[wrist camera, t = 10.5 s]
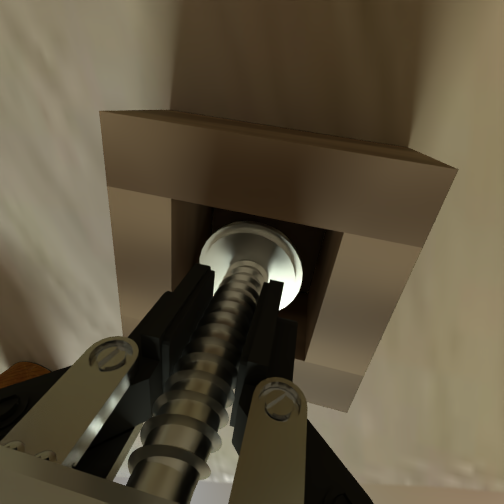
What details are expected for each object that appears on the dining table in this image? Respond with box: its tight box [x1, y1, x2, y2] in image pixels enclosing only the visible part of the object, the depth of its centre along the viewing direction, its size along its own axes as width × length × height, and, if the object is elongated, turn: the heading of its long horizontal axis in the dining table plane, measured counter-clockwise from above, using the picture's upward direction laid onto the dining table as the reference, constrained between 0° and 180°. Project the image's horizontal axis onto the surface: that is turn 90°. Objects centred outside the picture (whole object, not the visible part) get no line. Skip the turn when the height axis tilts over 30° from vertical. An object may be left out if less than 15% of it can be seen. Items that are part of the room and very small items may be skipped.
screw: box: [126, 221, 303, 504], centre depth 9 cm, size 13×5×5 cm
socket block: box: [99, 110, 458, 413], centre depth 15 cm, size 12×12×6 cm
